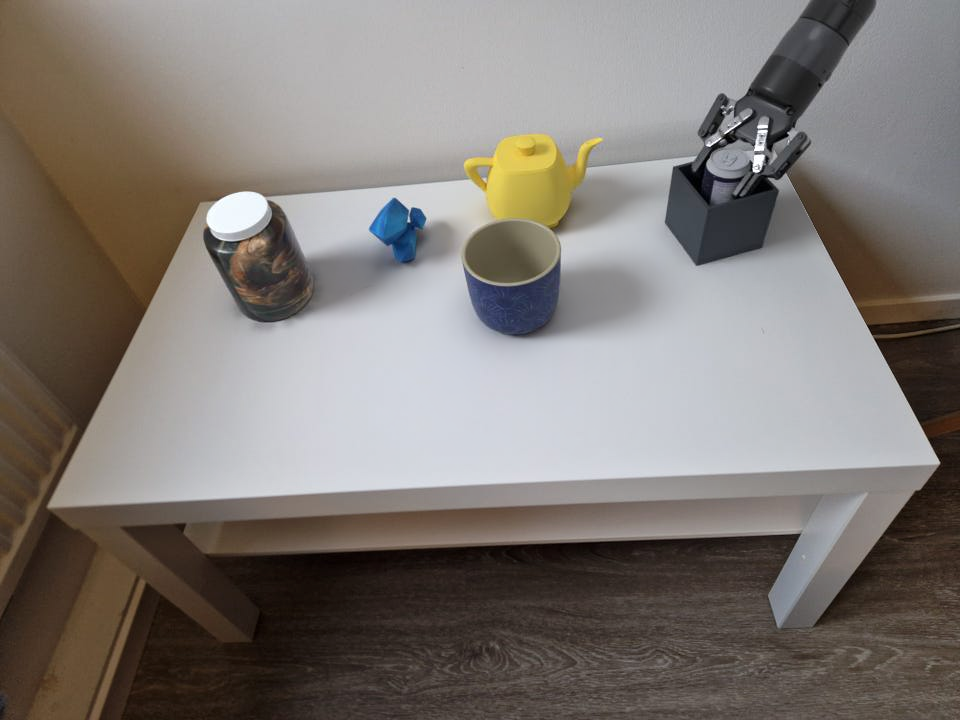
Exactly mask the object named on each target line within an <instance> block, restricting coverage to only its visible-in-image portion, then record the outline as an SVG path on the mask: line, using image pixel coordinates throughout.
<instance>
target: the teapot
mask: <svg viewBox="0 0 960 720" xmlns="http://www.w3.org/2000/svg"><path fill="white" fill-rule="evenodd" d="M603 140H604V139H603V138H602V137H596V138H592V139H588V140H586V141H585V142H583V144H582V145H581V146H580V148H579V149H578V153H577V157H576V160H575V162H574V164H572V165H570V166H569V167H568V165H567V162H566V161H565V158H564V156H563V155H562V152H561V151H560V149H559V147H558V145H557V144H556V142H555V140H554V139H553V138H552V137H551V136H549V135H547V134H544V133H528V134H519V135H512V136H508V137H505V138H503V139H502V140H500V141H499V143H498V144H497V146H496V149H495V151H494V154H493V157H481V156H480V157H479V156H477V157H471V158H467V159H466V160H465V161H464V163H463V169H464V173H465V174H466V176H467V177H468V178H469V180H470V181H471V182H472V183H473V184H474V185H476V187H478V188H479V189H480V190H481V191H483V192H484V193H485V198H486V203H487V207H488V209H489V212H490V213H491V215H492V217H494V219H495V221H497V220H501V219H508V218H523V219H529V220H533V221H536V222H539V223H541V224H543V225H545V226H547V227H548V228H550V229H553V228H555V227H557V226H558V225H559V224H560V221H561V219H562V218H563V217H564V216H565V214H566V213H567V211H568V209H569V208H570V204H571V201H572V194H573V191H574V190H575V189H577V188H578V187H579V186H580V185H581V184H582V182H583V181H584V179H585V176H586V174H587V168H588V162H589V156H590V154H591V152H592V150H593V149H594V148H595V147H596V146H597V145H599V144H600V143H601V142H602V141H603ZM481 167H482V168H483V167H488V171H487V176H486V181H485V180H484V179H483V178H482V177H481V175H480V174H479V171H478V170H477V169H478V168H481Z"/></svg>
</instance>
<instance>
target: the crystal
mask: <svg viewBox="0 0 960 720" xmlns="http://www.w3.org/2000/svg"><path fill="white" fill-rule="evenodd" d="M426 222H427V216H426V215H425V214H424V212H423V211H422V209H421V208H418V207H414V206H412V207H411V208H410V209H409V208H408V207H406V206H405V204H404V203H402V202H401V201H400V200H399V199H398V198H397V197H391V199H390V200H389V201H388V202H387V203H386V204H385V205H384V206H383V207H382V208H381V209H380V210H379V212H378V213H377V215H376V216H375V218H374V219H373V221H372V223H371V224H370V226H369V228H368V231H369V232H370V233H371V234H372V235H373V236H375V237H376V239H378V240H379V241H380V242H381V243H383V245H385V246H386V247H390V246H391V249H392V253H393V256H394V259H395V260H396V261H398V262H400V263H403V262H404V263H405V262H407V261H411V260H414V259H415V258H416V252H417V241H418V240H417V239H418V232H417V229H420V230H423V229H424V227H425V225H426Z"/></svg>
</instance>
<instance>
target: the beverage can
mask: <svg viewBox="0 0 960 720" xmlns="http://www.w3.org/2000/svg"><path fill="white" fill-rule="evenodd" d="M750 157H751V156H750V155H749V154H748V153H747V152H746V151H744V150H743V149H740V148H737V147H731V146H730V147H729V146H728V147H727V146H725V147H724V148H720V149H717V150H715V151H714V152H713V153H712V154H711V156H710V158H709V160H708V161H707V162H706V166H705V171H704V176H703V181H702V187H701V192H700V196H701V197H702V198H703V199H704V200H705V202H706V203H707V204H708V205H709V206H713V205H717V204H721V203H725V202H728V201H732V200H735V199H734V198H732V197H731V195H732V193H733V191H734V190H735V189H736V187H737V186H738V184H739V183H740V182H741V180H742V179H743V177H744V176H745V175H746V173H747V172H748V170H749V171H751V165H750V160H751V158H750Z"/></svg>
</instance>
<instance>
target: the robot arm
mask: <svg viewBox="0 0 960 720" xmlns="http://www.w3.org/2000/svg"><path fill="white" fill-rule="evenodd" d="M876 7H877V0H809V1H808V3H807V4H806V6H805V7H804V9H803V10H802V12H801V13H800V15H799V16H798V18H797V19H796V20H795V21H794V23H793V24H792V25H791V27H790V28H789V29H788V30H787V31H786V33H784V35H783V36H782V38H781V39H780V41H778V43H777V45H776V46H775V48H774V50H773V51H772V52H771V54H770V55H769V57H768V58H767V60H766V61H765V63H764V64H763V66H762V67H761V68H760V70H759V71H758V73H757V74H756V76H755V77H754V78H753V80H752V81H751V83H750V85H749V87H748V90H747V92H746V93H745V94H744V96H742V97H741V98H739V99H738V100H736V99H732V98H730V97H728V96H727V95H726V94H725V93H723V92H722V93H721V92H720V93H719V94H717V96H716V98H715V100H714V102H713V103H712V105H711V107H710V109H709V111H708V112H707V114H706V115H705V118H704V119H703V121H702V123H701V125H700V126H699V129H698V130H697V136H698V137H699V138H700V140H701V141H702V142H703V146H702V148H701V150H700V151H699V153H698V154H697V156H696V157H695V158H694V160H693V161H694V162H693V161H692V162H693V163H692V167H691V168H692V171H691V173H692V174H693V175H695V176H696V177H698V178H701V177H702V176H703V175H704V171H705V166H706V162H707V161H708V160H709V158H710V156H711V154H712V153H713V152H714V151H715V150H717V149H720V148H725V147H727V146H729V145H732V144H734V143H736V142H738V141H740V142H743V143H746V144H750V145H751V146H752V147H753V150H754V151H753V153H754V157H753V161H752V162H753V168H752V171H749V170H748V172H747V173H746V175H745V176H744V177H743V179H742V180H741V182H740V183H739V184H738V186H737V187H736V189H735V190H734V191H733V193H732V195H731V197H732V198H734V199H735V200H736V199H739V198H743V197H747V196H750V195H751V194H752V192H753V191H754V190H755V188H756V187H757V185H758V184H759V183H760V181H761V180H762V179H764V178H768V179H774V180H775V181H780V180H781V179H782V178H783V177H784V176H785V174H787V173H788V171H789V170H790V169H791V168H792V166H793V165H794V164H795V163H796V162H797V161H798V160H799V159H800V157H801V156H802V155H803V154H804V153H805V152H806V151H807V149H808V148H809V147H810V146H811V145H812V140H811V138H810V136H809V135H808V134H807V133H806V132H805V131H800V130H798V129H796V125H797V122H798V120H799V119H800V118H801V117H802V116H803V115H804V113H805V112H806V111H807V109H808V108H809V106H810V105H811V104H812V103H813V101H814V99H816V97H817V95H818V94H819V93H820V91H821V89H822V88H823V87H824V85H825V84H826V83H827V82H828V81H829V80H830V79H831V77H832V75H833V73H834V72H835V70H836V68H838V66H839V64H840V63H841V61H842V58H843V57H844V55H845V53H846V52H847V50H848V48H849V47H850V46H851V44H852V43H853V41H854V40H855V39H856V37H857V36H858V35H859V33H860V32H861V30H862V29H863V27H864V26H865V25H866V24H867V22H868V21H869V20H870V18H871V16H872V14H873V13H874V11H875V9H876ZM732 112H733V118H732V119H731V120H729V121H728V122H726V123H724V120H725V118H726V117H727V116H730V115H731V113H732ZM723 123H724V124H723ZM722 124H723V125H722ZM721 125H722V126H721ZM785 139H787V140H786V145H785V147H784V148H783V150H782V151H781V152H780V153H779V154H778V155H777V156H776V157H775V159H774V160H773V157H774V152H775V147H776V144H777V143H779V142H781V141H783V140H785ZM772 160H773V161H772ZM771 161H772V162H771Z"/></svg>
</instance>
